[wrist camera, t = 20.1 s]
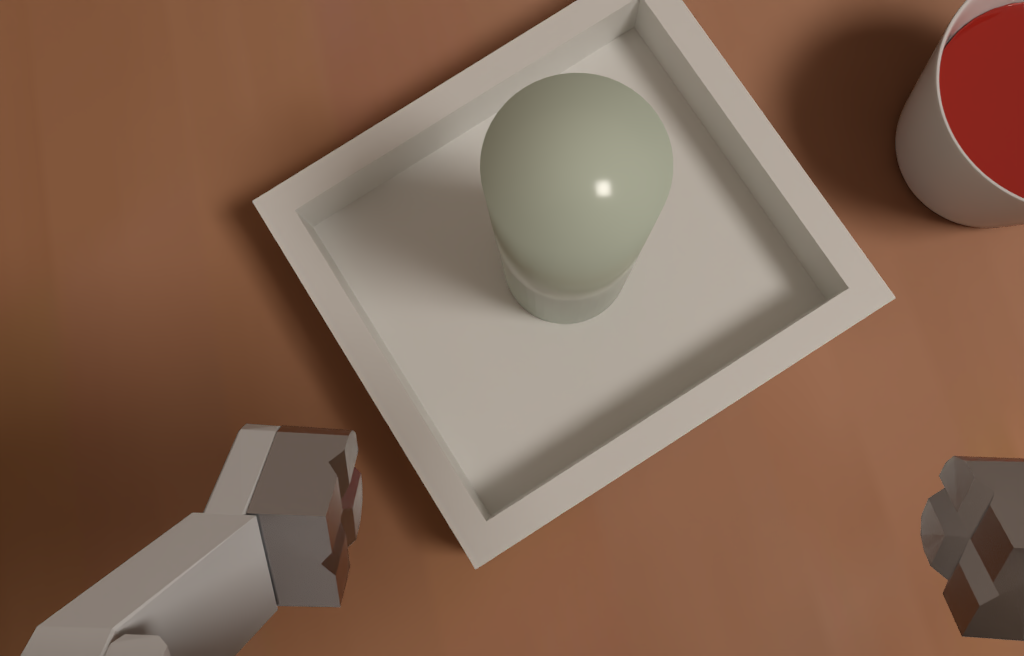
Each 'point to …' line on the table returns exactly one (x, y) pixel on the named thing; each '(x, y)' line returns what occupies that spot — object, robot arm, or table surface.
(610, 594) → the table surface
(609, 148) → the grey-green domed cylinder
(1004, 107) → the candle
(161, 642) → the robot arm
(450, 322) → the tray
